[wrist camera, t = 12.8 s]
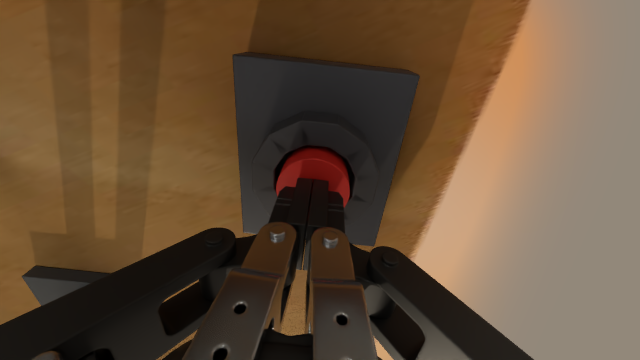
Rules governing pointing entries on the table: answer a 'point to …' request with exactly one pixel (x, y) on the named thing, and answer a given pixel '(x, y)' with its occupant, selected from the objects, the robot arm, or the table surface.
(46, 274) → the bracket
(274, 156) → the button block
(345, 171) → the button
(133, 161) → the table surface
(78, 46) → the table surface
